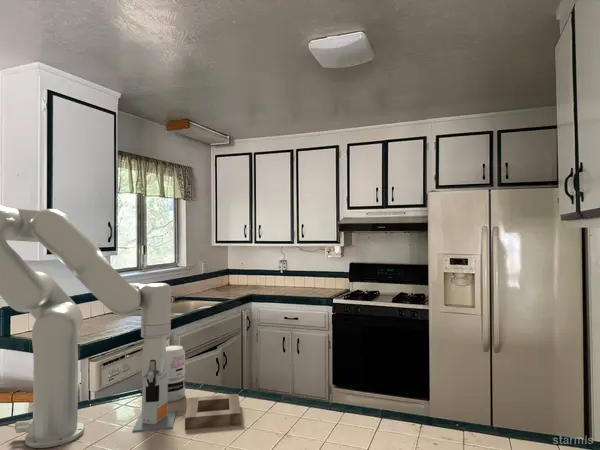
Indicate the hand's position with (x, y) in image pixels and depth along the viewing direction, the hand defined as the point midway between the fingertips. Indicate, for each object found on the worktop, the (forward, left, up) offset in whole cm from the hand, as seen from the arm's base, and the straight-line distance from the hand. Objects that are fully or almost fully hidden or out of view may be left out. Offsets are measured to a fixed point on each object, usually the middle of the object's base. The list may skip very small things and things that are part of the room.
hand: (155, 394), depth 111 cm
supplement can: (+2, +17, -7) cm, 19 cm away
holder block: (+15, 0, -7) cm, 17 cm away
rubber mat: (0, 0, -7) cm, 7 cm away
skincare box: (0, 0, -7) cm, 7 cm away
